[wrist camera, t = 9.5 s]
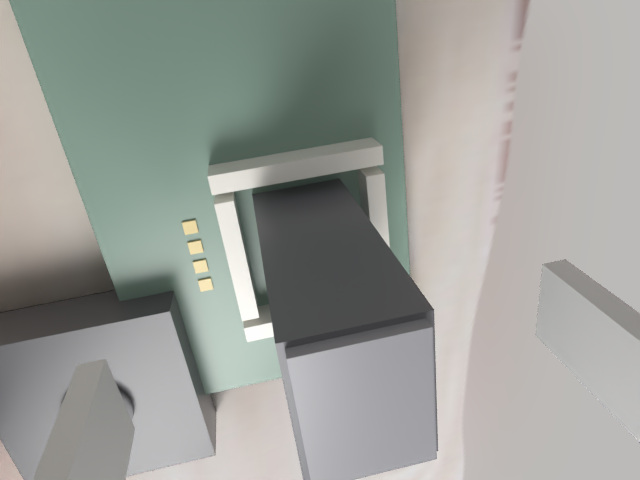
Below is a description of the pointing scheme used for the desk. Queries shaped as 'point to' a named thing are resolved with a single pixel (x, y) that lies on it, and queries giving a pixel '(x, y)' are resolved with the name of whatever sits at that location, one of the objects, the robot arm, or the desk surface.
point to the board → (218, 142)
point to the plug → (346, 335)
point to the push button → (127, 369)
